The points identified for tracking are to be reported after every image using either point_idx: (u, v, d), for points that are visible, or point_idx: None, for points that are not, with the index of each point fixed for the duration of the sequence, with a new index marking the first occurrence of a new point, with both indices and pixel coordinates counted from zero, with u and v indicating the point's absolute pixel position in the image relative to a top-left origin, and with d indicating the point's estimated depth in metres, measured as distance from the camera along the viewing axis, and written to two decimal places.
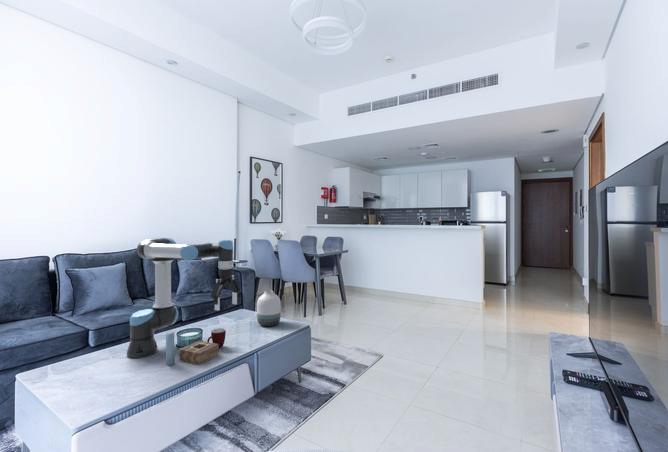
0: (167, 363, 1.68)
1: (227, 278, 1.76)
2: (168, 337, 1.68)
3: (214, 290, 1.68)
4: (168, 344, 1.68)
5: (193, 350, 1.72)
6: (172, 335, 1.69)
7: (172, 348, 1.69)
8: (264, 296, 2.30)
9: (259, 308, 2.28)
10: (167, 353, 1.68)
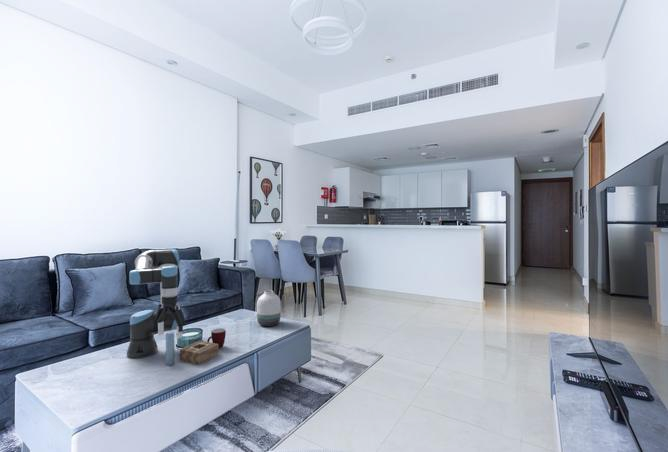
0: (167, 363, 1.68)
1: (167, 306, 1.68)
2: (168, 337, 1.67)
3: None
4: (168, 344, 1.68)
5: (193, 350, 1.72)
6: (172, 335, 1.69)
7: (172, 348, 1.69)
8: (264, 296, 2.30)
9: (259, 308, 2.28)
10: (167, 353, 1.68)
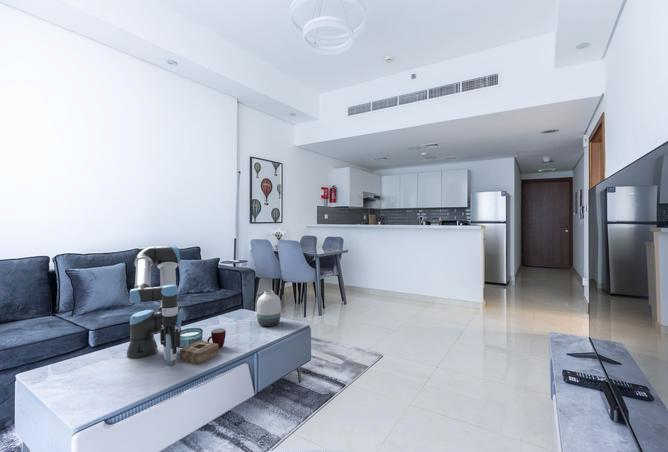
0: (167, 363, 1.68)
1: (168, 325, 1.68)
2: (168, 337, 1.68)
3: None
4: (168, 344, 1.68)
5: (193, 350, 1.72)
6: None
7: None
8: (264, 296, 2.30)
9: (259, 308, 2.28)
10: (167, 353, 1.68)
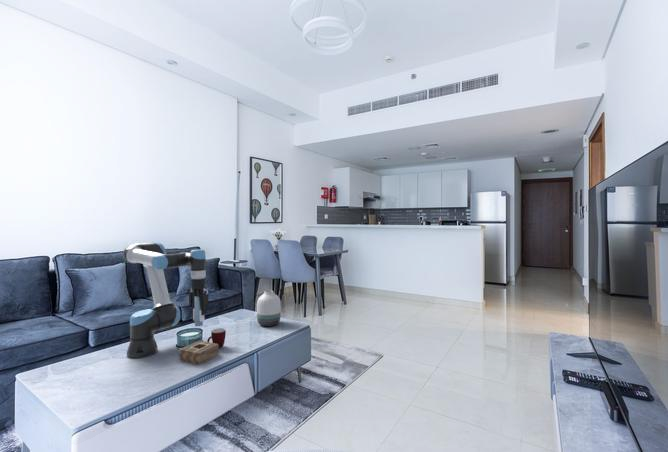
0: (196, 324, 1.75)
1: (196, 288, 1.76)
2: (196, 299, 1.75)
3: None
4: (197, 306, 1.75)
5: (193, 350, 1.72)
6: None
7: None
8: (264, 296, 2.30)
9: (259, 308, 2.28)
10: (196, 314, 1.75)
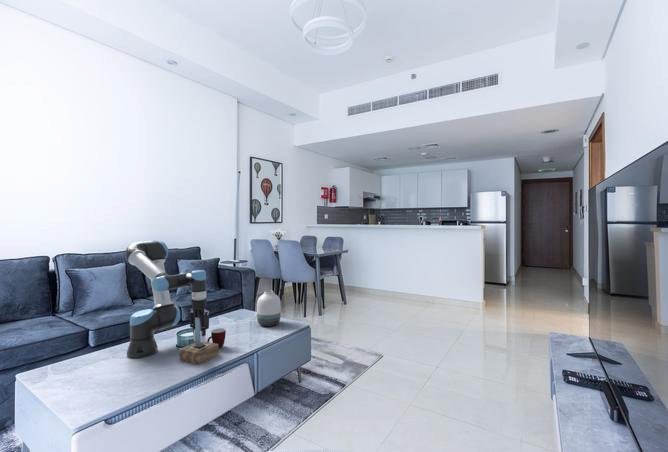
0: (197, 345, 1.75)
1: (197, 309, 1.76)
2: (197, 320, 1.75)
3: None
4: (197, 327, 1.75)
5: (193, 350, 1.72)
6: None
7: None
8: (264, 296, 2.30)
9: (259, 308, 2.28)
10: (197, 335, 1.75)
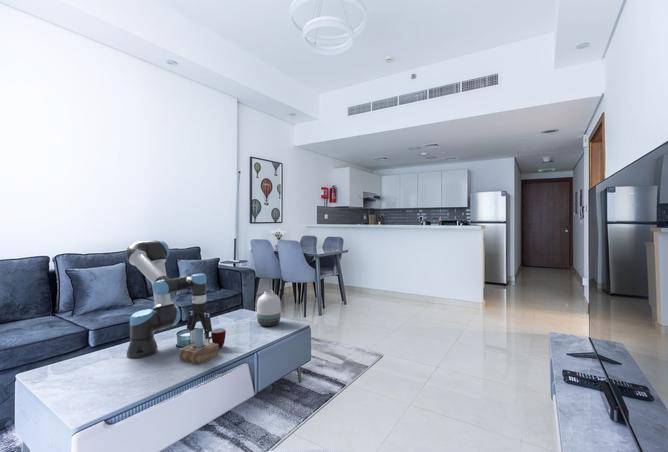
0: None
1: (197, 312, 1.76)
2: (197, 332, 1.75)
3: None
4: (197, 338, 1.75)
5: (193, 350, 1.72)
6: (201, 330, 1.76)
7: (201, 342, 1.76)
8: (264, 296, 2.30)
9: (259, 308, 2.28)
10: (197, 347, 1.75)
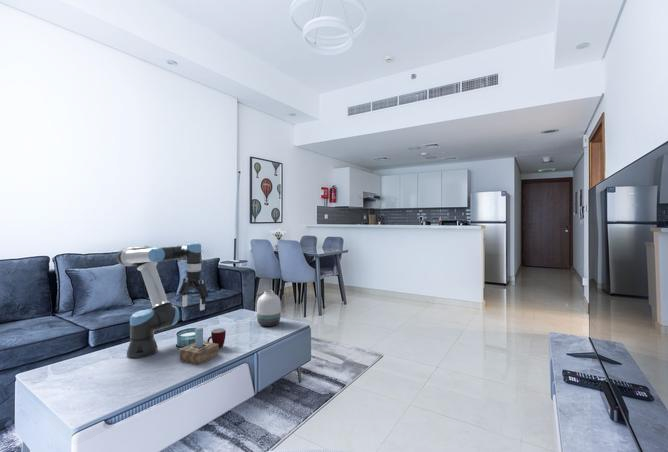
0: None
1: (192, 280, 1.81)
2: (197, 332, 1.75)
3: None
4: (197, 338, 1.75)
5: (193, 350, 1.72)
6: (201, 330, 1.76)
7: (201, 342, 1.76)
8: (264, 296, 2.30)
9: (259, 308, 2.28)
10: (197, 347, 1.75)
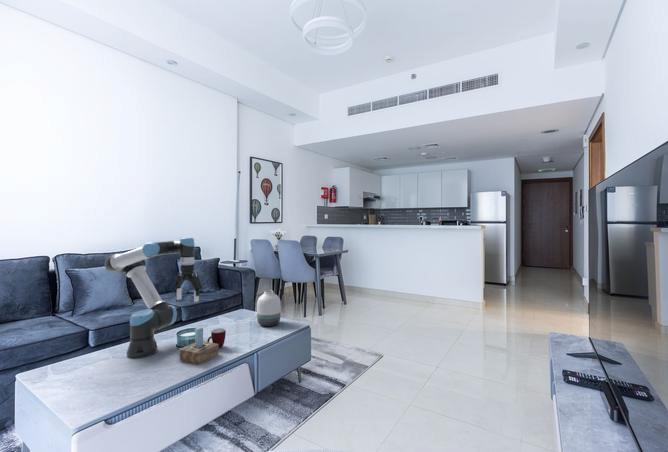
0: None
1: (185, 273, 1.87)
2: (197, 332, 1.75)
3: None
4: (197, 338, 1.75)
5: (193, 350, 1.72)
6: (201, 330, 1.76)
7: (201, 342, 1.76)
8: (264, 296, 2.30)
9: (259, 308, 2.28)
10: (197, 347, 1.75)
